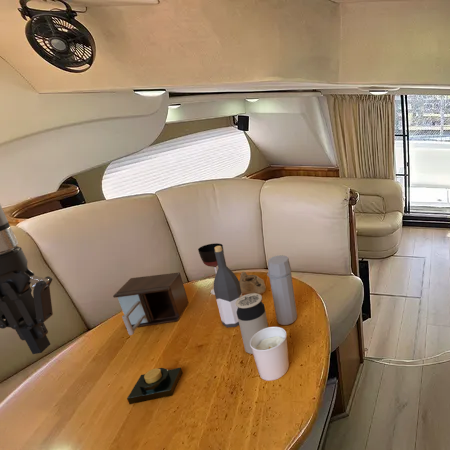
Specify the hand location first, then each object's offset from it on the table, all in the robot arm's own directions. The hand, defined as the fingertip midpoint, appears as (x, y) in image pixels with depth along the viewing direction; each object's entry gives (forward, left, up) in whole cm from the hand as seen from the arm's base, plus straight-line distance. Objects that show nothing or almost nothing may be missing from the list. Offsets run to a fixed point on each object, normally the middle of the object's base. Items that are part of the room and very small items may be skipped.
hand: (41, 349), depth 68 cm
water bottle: (+46, +30, -25) cm, 60 cm away
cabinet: (0, +46, -24) cm, 52 cm away
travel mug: (+38, +18, -25) cm, 49 cm away
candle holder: (+44, +6, -25) cm, 51 cm away
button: (+13, +8, -21) cm, 26 cm away
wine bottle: (+28, +34, -25) cm, 50 cm away
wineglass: (+18, +58, -25) cm, 66 cm away
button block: (+13, +8, -24) cm, 29 cm away
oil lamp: (+32, +52, -25) cm, 66 cm away
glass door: (-4, +35, -23) cm, 43 cm away
